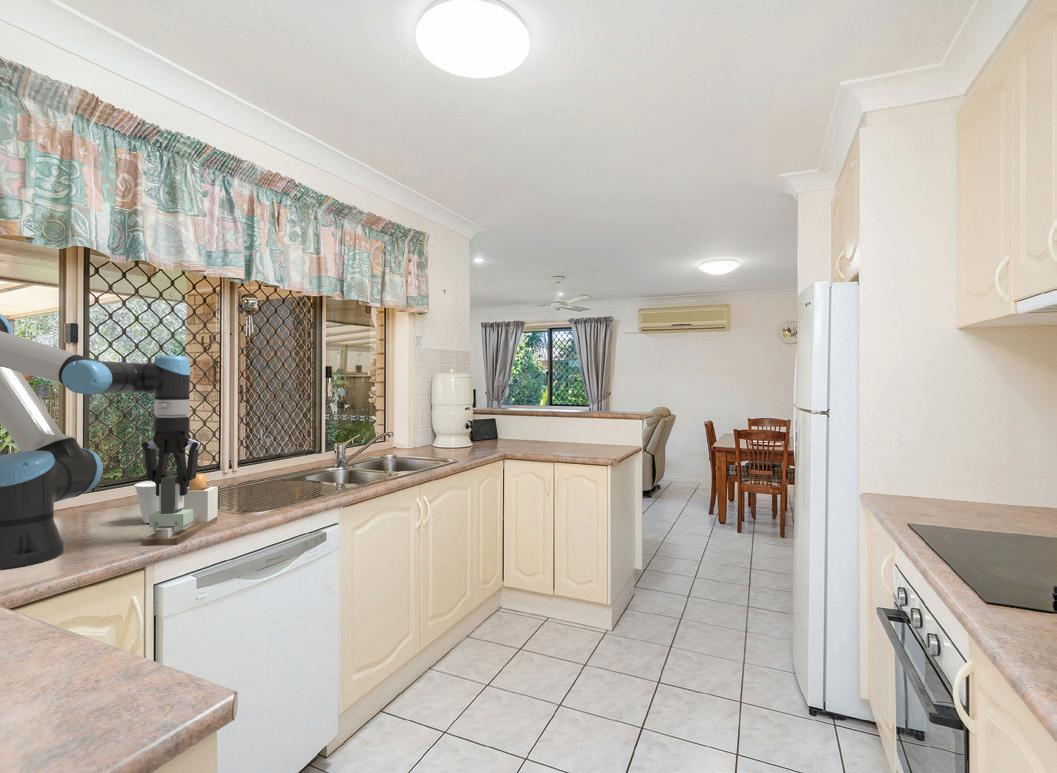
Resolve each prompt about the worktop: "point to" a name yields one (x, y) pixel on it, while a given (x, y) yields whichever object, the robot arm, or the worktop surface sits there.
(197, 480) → the button
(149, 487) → the cup
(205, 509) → the cabinet
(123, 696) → the worktop surface
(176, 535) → the track
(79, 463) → the robot arm
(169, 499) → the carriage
